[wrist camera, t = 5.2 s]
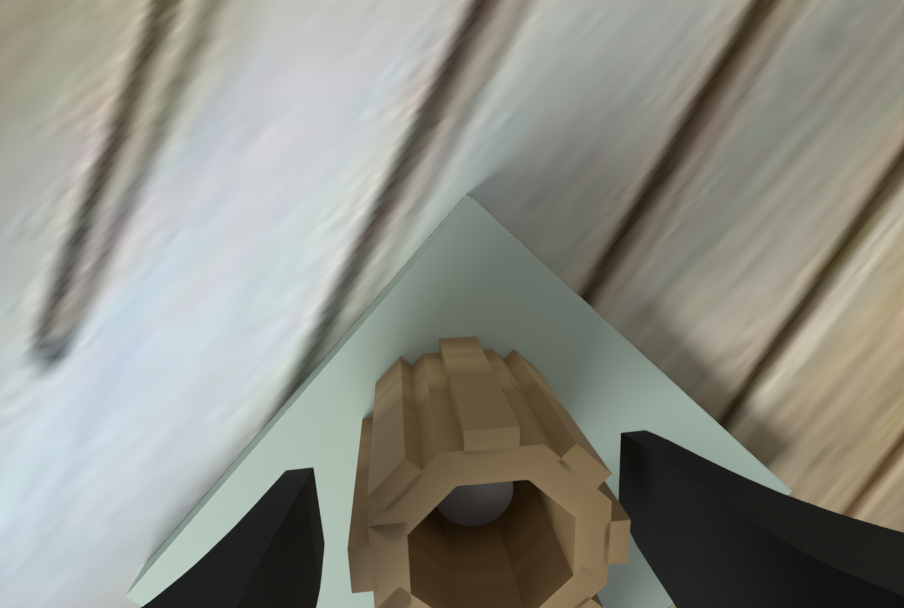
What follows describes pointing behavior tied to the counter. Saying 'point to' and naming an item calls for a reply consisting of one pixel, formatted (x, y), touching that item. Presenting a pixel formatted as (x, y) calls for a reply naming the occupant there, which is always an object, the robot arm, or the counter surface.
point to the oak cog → (478, 462)
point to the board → (418, 331)
